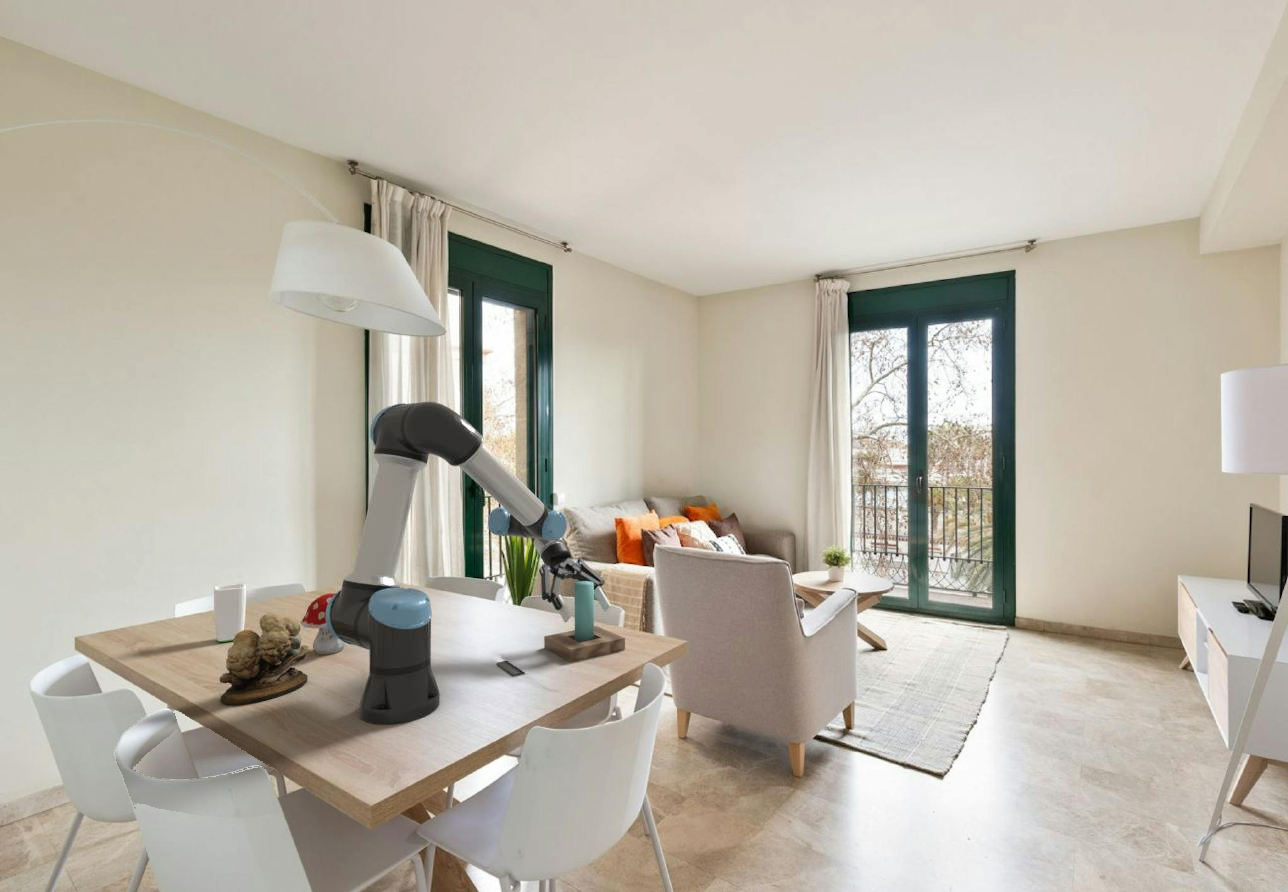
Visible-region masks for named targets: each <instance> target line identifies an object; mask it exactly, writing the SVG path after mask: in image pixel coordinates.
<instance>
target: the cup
mask: <svg viewBox="0 0 1288 892" xmlns="http://www.w3.org/2000/svg"><path fill="white" fill-rule="evenodd" d="M246 607H247V585H246V584H245V583H232V584H222V585H215V586H214V587H213V612H214V613H213V615H214V618H213V619H214V626H215V627H214V628H215V634H216V635H215V636H216V639H217V642H219V643H227V642H233V639H234V637H235V635H236V634H237V633H239V632H240V631H243V630H245V622H246V612H247V611H246Z"/></svg>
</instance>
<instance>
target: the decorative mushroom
mask: <svg viewBox="0 0 1288 892" xmlns="http://www.w3.org/2000/svg"><path fill="white" fill-rule="evenodd" d="M336 593H337V592H336ZM336 593H335V592H333V593H332V592H331V593H325V594H322V595H320V596H318V597H317V598H316V599H315V600H313V601H312V602H311V603H310V604H309V605H308V607H307V609H306V612H305V615H304V617H303V618H302V619H301V620H300V622H299V624H300V626H302V627H303V628H306V629H318V632H317V635H316V636H315V638H314V640H313V643H312V649H313V650H314V651H315V652H316V653H317V654H319V655H330V654H337V653H340V652H341V651H343V650H344V649H345V647H346V646H347V645H348V644H347V643H345V642H343V641H341V640H340V639H338V638H337V637H335V636H334V635H333V634H332V633H331V632H330V630H329V629H328V626H327V623H326V608H327V605H328V603H329V601H330V599H331V598H332V597H333V595H335V594H336Z"/></svg>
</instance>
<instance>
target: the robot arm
mask: <svg viewBox="0 0 1288 892" xmlns="http://www.w3.org/2000/svg"><path fill="white" fill-rule="evenodd" d="M369 428H370V429H369V430H370V431H369V433H370V440H371V441H372V443H373V446H374V451H373V454H372V455H373V458H374V459H375V461H376V463H377V464H378V466H377V471H376V474H375V479H374V483H373V487H372V492H371V496H370V500H369V505H368V509H367V513H366V517H365V522H364V524H363V529H362V534H361V537H360V542H359V546H358V550H357V556H356V559H355V562H354V563H355V564H354V567H353V570H352V572H351V573H349V574H348V575H346V576H345V577H344V578H343V581H342V584H341V589H339V590H338V591H337V592H336V594H335V595H333V597H332V598H331V599H330V601H329V603H328V605H327V608H326V623H327V626H328V629H329V630H330V632H331V633H332V634H333V635H334V636H335V637H337V638H338V639H340V640H341V641H343V642H345V643H347V644H346V645H351V646H357V647H360V648H363V649H366V650H368V651H369V652H368V653H369V654H368V655H369V659H368V660H369V668H368V669H369V674H368V677H367V680H366V683H365V687H364V690H363V693H362V695H361V698H360V702H359V717H360V718H361V719H362V720H363V721H366V722H368V723H372V724H380V725H381V724H382V725H384V724H385V725H386V724H387V725H388V724H397V723H398V724H399V723H404V722H409V721H414V720H417V719H420V718H423V717H425V716H427V715H430V714H431V713H433V712H434V711H435V710H437V708H439V706H440V704H441V703H440V702H441V700H440V697H441V695H440V689H439V686H438V684H437V683H438V682H437V680H436V678H435V675H434V674H435V673H434V672H433V669H432V662H431V661H432V657H431V656H432V650H431V649H432V648H431V647H432V615H433V613H432V607H431V606H432V605H431V599H430V597H429V595H428V594H427V593H426V592H424V591H422V590H419V589H417V588H410V587H409V588H405V587H401V584H400V582H399V581H398V579H397V578H396V573H397V569H398V564H399V559H400V555H401V549H402V545H403V541H404V537H405V532H406V529H407V524H408V523H407V522H408V519H409V514H410V510H411V506H412V500H413V495H414V492H415V487H416V482H417V478H418V474H419V472H420V471H421V470H423V469H425V468H426V467H427V465H428V460H429V457H430V455H433V456H437V457H439V458H441V459H443V460H444V461H445V462H447V463H448V464H449V465H450V466H451V467H459V468H460V469H461V470H462V471H463V472H465V474H466V475H468V476H469V477H470V478H471V479H472V480H473V481H474V482H475V483H476V484H477V485H479V486H480V488H482V489H483V490H484V491H485V492H486V493H487V494H489V496H490V497H491V498H493V499H494V500H495V501H496V502H497V503H498V504H499V505H500V506H501V507H496V508H493V509H492V510H491V512H490V513H489V515H488V520H487V526H488V530H489V531H490V533H491V534H493V535H495V536H501V537H506V536H507V537H517V538H528V539H530V540H531V541H532V542H531V543H533V546H534V547H535V549H536V551H537V553H538V554H539V556H540V558H541V560H542V562H543V564H542V565H541V567H540V568H539V570H538V572H539V575H540V578H541V579H540V582H541V585H540V586H541V599H542V600H543V601H547V603H550V604H552V605H553V608H554V609H555V610H556V611H558V612H559V614H560V616H561V618H562V620H563V622H564V623H568V621H569V620H570V619H571V617H572V614H571V612H570V609H569V607H568V606H567V604H566V602H565V600H564V599H563V597H562V595H561V594H558V591H559V588H560V584H561V583H560V582H561V580H562V581H563V580H565V579H572V580H576V581H577V582H580V581H590V582H594V598H596V600H597V603H598V604H599V605H600V607H601V609H602V610H603V612H604V613H605V612H608V610H609V609H610V608H611V606H612V605H611V602H610V601H609V599H608V597H607V593H606V592H605V590H604V588H603V586H604V584H606V580H605V579H604V578H603V577H601V575H599V573H597V572H596V571H595V570H593V569H592V568H591V567H590V566H589V565H588V564H587V563H586V562H585V561H584V560H583V558H581V557H579V558H578V559H577V560H573V559H572V557H571V555H572V554H571V552H570V550H569V548H568V546H567V545H566V543H564V542H565V541H564V539H563V537H564V536H565V534H566V532H567V529H568V520H567V517H566V515H565V513H564V512H561V511H559V510H558V511H557V510H556V509H555V510H554V509H552V510H551V509H550V508H549V507H547V506H546V504H544V503H543V502H542V501H541V500H540V498H539V497H537V495H535V494H534V493H533V492H532V491H531V490H530V488H528V487H527V486H526V484H524V483H523V482H522V480H520V479H519V478H518V477H517V476H516V475H515V473H514V472H513V471H511V470H510V468H508V467H507V465H505V464H504V462H502V461H501V459H499V458H498V457H497V456H496V455H495V454H494V453H493V452H492V451H491V449H489V447H487V445H485V444H484V437H483V435H482V434H481V433H480V432H479V431H478V430H477V429H476V428H475V427H474V426H473V425H472V424H470V423H469V422H468V420H467V419H465V418H464V417H463V416H462V415H460V414H458V413H457V412H456V411H455V410H453V409H451V408H450V407H448V406H446V405H444V404H442V403H439V402H436V401H422V402H416V403H415V402H413V403H396V404H393V405H390V406H387V407H384V408H383V409H381V410H380V411H379V412H378V413H377V414H375V416H374V417H373V420H372V422H371V425H370V427H369ZM550 573H551V574H552V575H553V577H552V583H551V582H550V580H551V579H550ZM550 583H551V584H550Z"/></svg>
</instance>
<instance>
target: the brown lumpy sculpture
mask: <svg viewBox="0 0 1288 892" xmlns="http://www.w3.org/2000/svg"><path fill="white" fill-rule="evenodd" d="M301 626H302V625H301V623H300V622H299V620H298V619H297V618H296V617H293V616H285V617H282V616H281V615H280V614H278V613H276V612H274V613H273V612H266V613H265V614H264V615H262V616H261V618H259V627H260V629H261V631H262V633H261V635H259V634H258V633H257V632H255V631H253V630H251V629H250V630H249V629H244V630H243V631H240V632H239V633H237V634H236V635H235V637H234V639H233V641H232V644H233V645H231V646H230V647H229V648H228V650H227V658H225V659H226V660H225V663H226V665H225V667H226V669H227V671H228V672H225V673H222V674H221V676H220V677H219V682H220V683H221V684H230V685H231V686H230V687H228V688H227V689H226V690H225V692H224V693H222V694H221V696H220V703H222V704H223V705H226V706H233V707H234V706H244V705H249V704H254V703H258V702H263V701H268V700H271V699H274V698H277V697H280V696H283V695H287V694H290V693H291V692H294V691H296V690H298V689H300V688H302V687H303V686H304V685H305V684H307V682H308V677H309V676H308V675H307V673H304V672H303V671H302V670H298V669H296V667H293V666H294V665H296V664H297V663H300V662H301V661H302V660H304V659H305V657H306V655H307V654H308V653H309V652H310V650H309V645H304V644H303V645H302V635H301V634H300V632H301Z"/></svg>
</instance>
